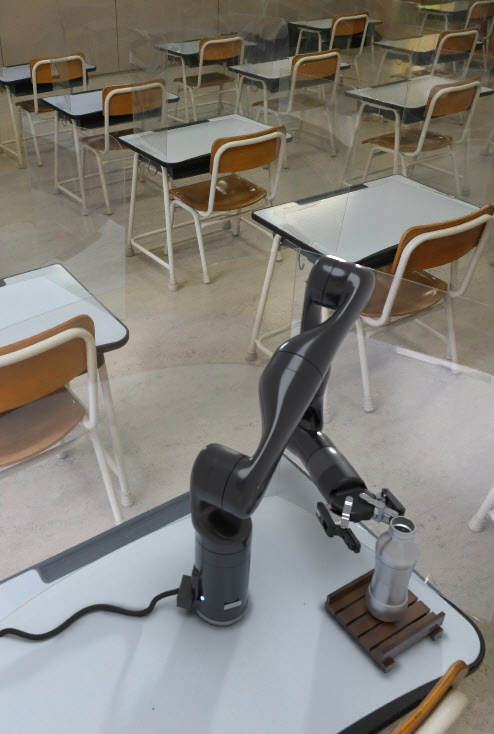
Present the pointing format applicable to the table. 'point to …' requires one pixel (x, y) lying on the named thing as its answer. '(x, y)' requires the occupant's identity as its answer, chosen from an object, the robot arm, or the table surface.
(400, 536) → the silver metal bottle
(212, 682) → the table surface
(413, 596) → the wooden slatted rack
